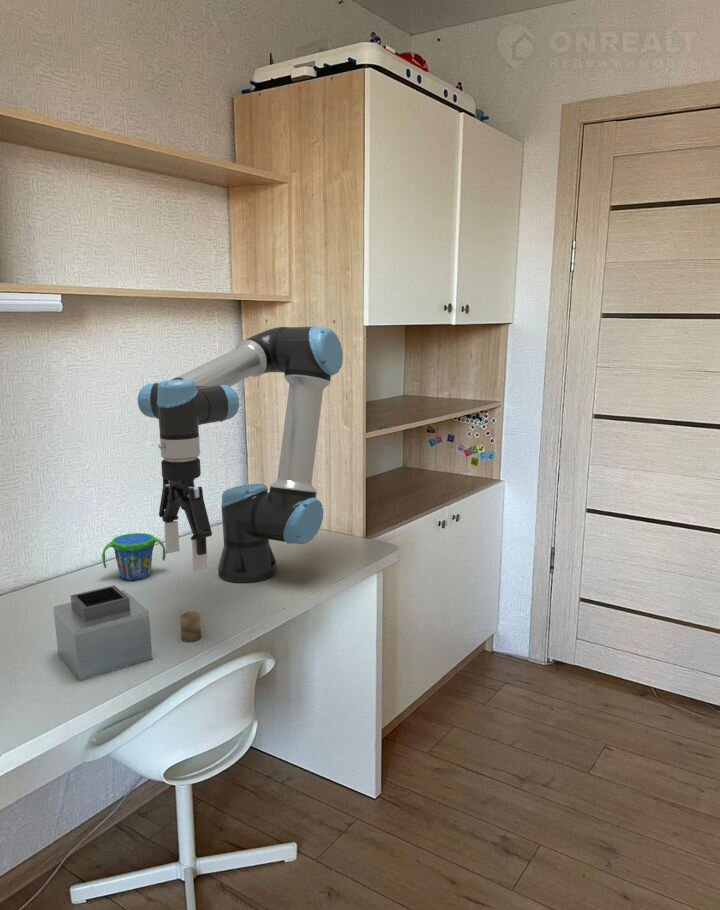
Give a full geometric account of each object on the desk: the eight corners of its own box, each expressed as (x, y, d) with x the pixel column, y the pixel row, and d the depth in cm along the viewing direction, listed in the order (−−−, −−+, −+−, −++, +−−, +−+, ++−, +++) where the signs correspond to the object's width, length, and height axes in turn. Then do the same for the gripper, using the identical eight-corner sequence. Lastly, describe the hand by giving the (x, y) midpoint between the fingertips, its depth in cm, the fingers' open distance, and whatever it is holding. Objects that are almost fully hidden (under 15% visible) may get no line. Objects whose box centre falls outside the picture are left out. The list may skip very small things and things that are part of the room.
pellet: (196, 632, 152) (194, 610, 151) (204, 638, 149) (203, 616, 148) (178, 637, 150) (177, 615, 149) (186, 644, 147) (184, 621, 146)
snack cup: (166, 566, 192) (164, 530, 190) (167, 580, 182) (164, 541, 180) (105, 572, 188) (102, 535, 186) (102, 586, 178) (99, 547, 176)
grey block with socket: (127, 634, 151) (122, 578, 149) (152, 658, 140) (148, 598, 138) (58, 653, 143) (52, 594, 140) (79, 681, 132) (73, 617, 130)
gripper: (139, 451, 149) (145, 548, 153) (189, 470, 130) (194, 581, 134) (173, 447, 154) (178, 542, 158) (226, 465, 134) (231, 572, 138)
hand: (186, 560), depth 146 cm, fingers open, 13 cm apart
